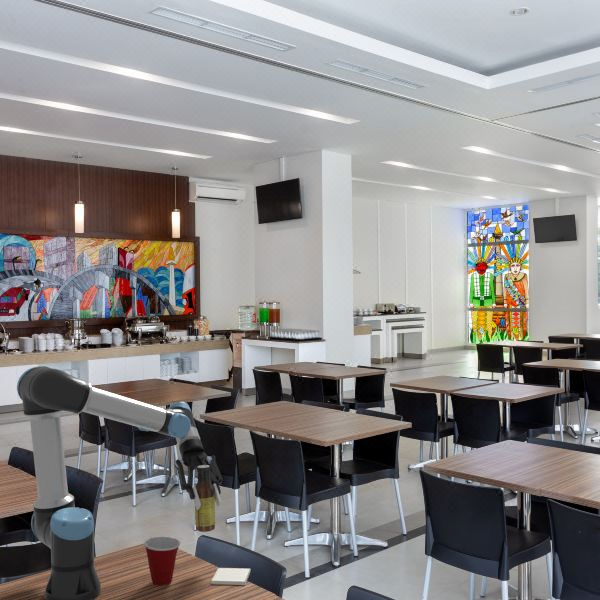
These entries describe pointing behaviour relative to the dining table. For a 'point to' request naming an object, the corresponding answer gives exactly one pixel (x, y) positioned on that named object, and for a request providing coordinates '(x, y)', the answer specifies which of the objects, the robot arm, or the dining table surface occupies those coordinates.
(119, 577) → the dining table surface
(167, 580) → the plastic cup
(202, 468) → the sauce bottle
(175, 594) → the dining table surface
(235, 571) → the cream pad
